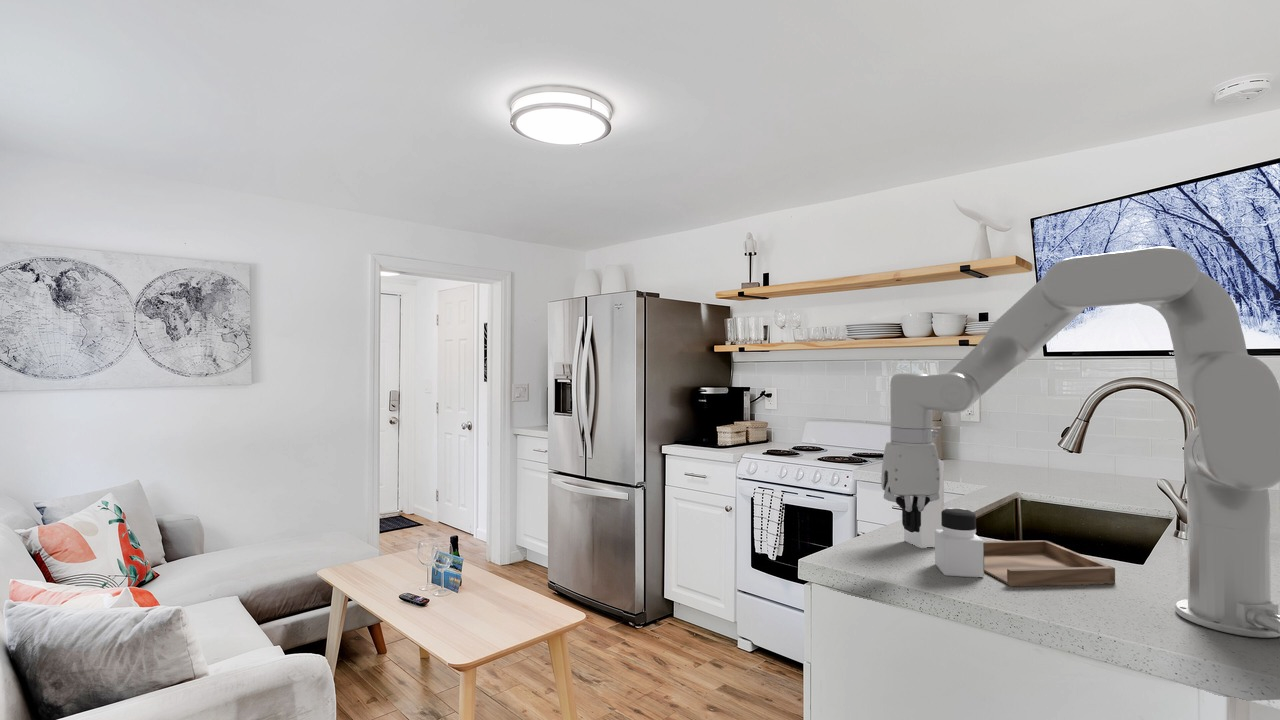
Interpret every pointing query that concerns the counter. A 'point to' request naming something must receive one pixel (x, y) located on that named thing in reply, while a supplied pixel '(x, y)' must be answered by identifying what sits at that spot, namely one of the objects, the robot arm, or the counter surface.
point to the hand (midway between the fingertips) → (911, 530)
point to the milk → (929, 519)
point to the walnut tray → (1042, 564)
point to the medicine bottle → (959, 544)
